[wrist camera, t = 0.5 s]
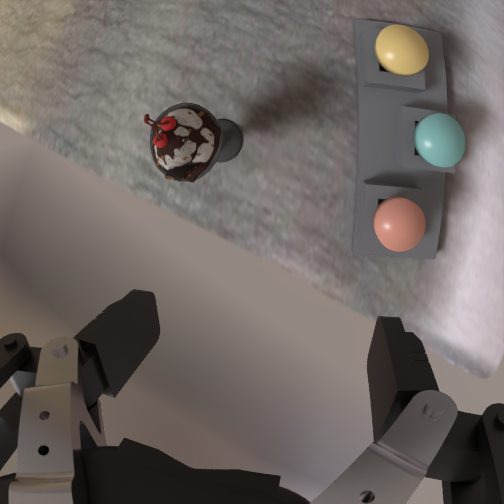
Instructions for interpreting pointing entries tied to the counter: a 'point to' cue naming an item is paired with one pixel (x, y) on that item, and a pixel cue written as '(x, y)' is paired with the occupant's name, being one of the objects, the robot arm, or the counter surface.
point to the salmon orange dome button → (399, 223)
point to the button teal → (439, 140)
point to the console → (396, 140)
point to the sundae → (191, 141)
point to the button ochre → (401, 50)
